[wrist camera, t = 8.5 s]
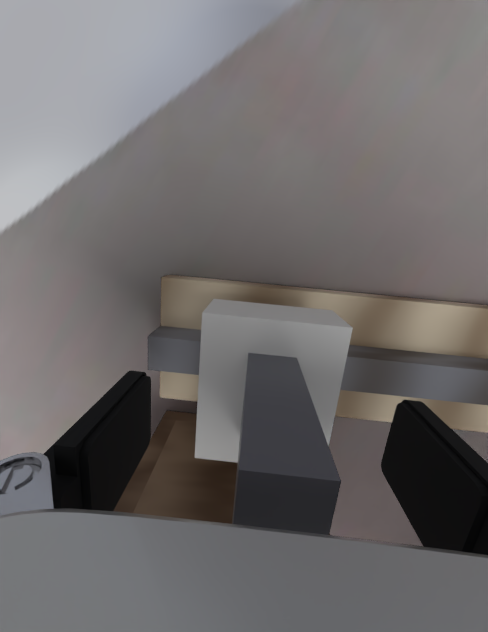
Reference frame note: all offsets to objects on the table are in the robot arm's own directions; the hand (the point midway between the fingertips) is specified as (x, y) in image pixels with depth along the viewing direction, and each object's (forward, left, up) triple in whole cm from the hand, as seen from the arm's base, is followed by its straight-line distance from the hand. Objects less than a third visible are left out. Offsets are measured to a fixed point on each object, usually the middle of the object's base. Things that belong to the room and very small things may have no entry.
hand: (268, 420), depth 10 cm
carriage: (0, 0, -4) cm, 4 cm away
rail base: (-6, 0, -8) cm, 11 cm away
